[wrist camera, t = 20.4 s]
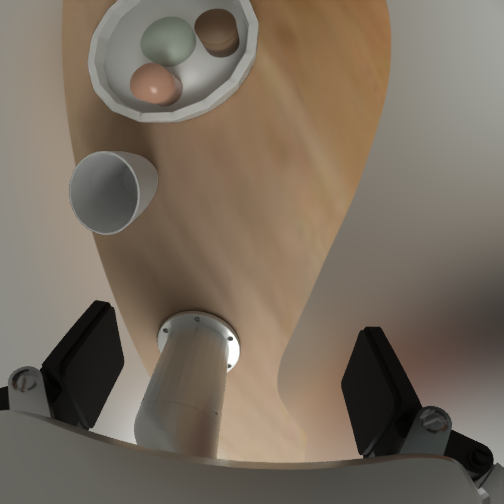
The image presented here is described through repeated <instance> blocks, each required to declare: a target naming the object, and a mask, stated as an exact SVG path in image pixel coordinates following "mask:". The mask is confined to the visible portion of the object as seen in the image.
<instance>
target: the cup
mask: <svg viewBox="0 0 504 504" xmlns="http://www.w3.org/2000/svg"><path fill="white" fill-rule="evenodd" d="M158 180H159V178H158V173H157V170H156V168H155V167H154V165H153V164H152V163H151V162H150V161H148V160H147V159H146V158H144V157H142V156H140V155H136V154H133V153H129V152H125V151H99V152H94V153H92V154H90V155H88V156H86V157H85V158H83V159H82V160H81V161H80V162H79V164H78V165H77V166H76V168H75V170H74V172H73V174H72V177H71V180H70V186H69V197H70V202H71V206H72V209H73V211H74V213H75V215H76V217H77V218H78V220H79V221H80V222H81V223H82V224H83V225H84V226H85V227H86V228H87V229H89V230H90V231H92V232H95V233H97V234H102V235H111V234H115V233H118V232H120V231H122V230H123V229H125V228H126V227H127V226H128V225H129V224H130V223H132V222H133V221H134V220H135V219H136V218H137V217H138V216H139V215H140V214H141V213H143V211H144V210H145V209H146V208H147V206H148V205H149V203H150V202H151V200H152V199H153V197H154V196H155V194H156V191H157V186H158Z"/></svg>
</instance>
